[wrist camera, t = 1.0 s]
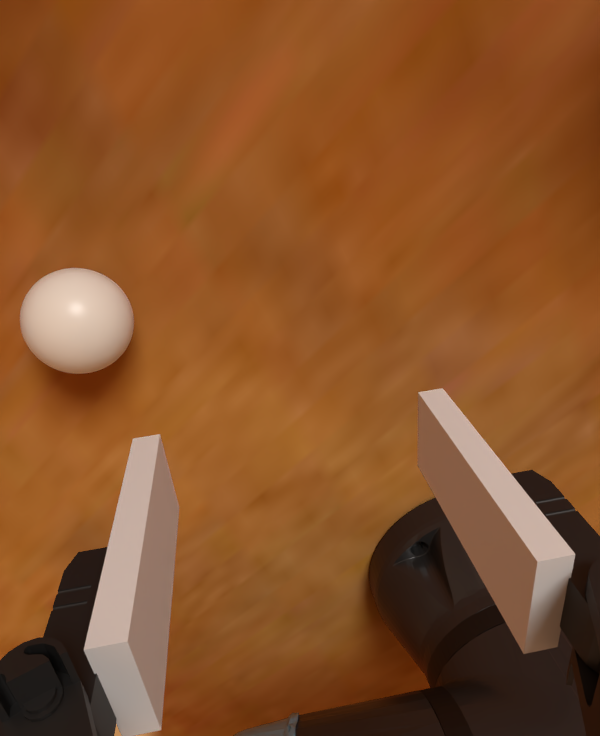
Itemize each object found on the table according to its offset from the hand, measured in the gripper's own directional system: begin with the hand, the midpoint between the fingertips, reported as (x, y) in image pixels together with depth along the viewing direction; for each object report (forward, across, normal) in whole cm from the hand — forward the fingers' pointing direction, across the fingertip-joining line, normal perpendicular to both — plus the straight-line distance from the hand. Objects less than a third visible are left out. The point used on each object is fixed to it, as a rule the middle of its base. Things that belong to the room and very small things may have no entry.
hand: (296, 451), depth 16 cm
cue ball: (+14, +10, 0) cm, 17 cm away
